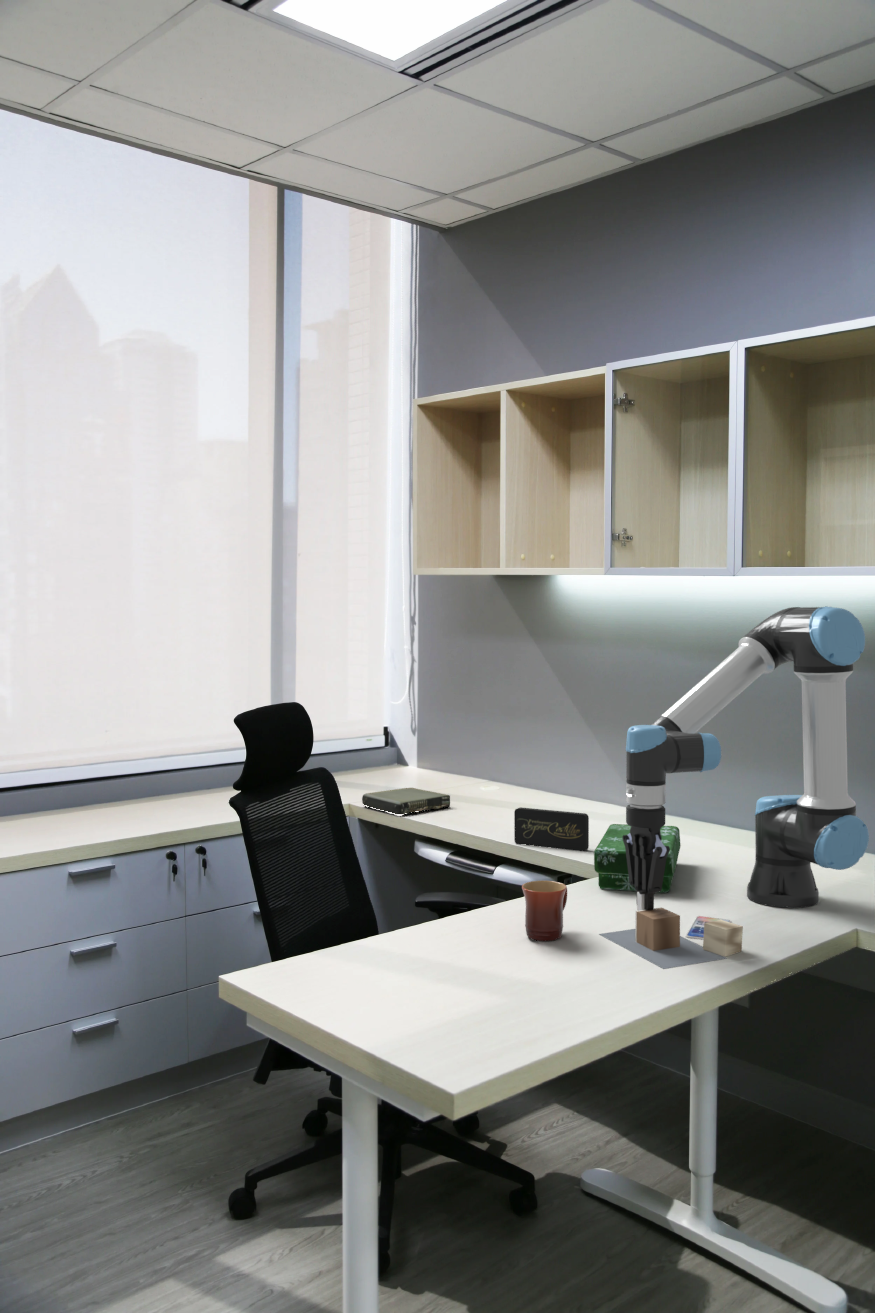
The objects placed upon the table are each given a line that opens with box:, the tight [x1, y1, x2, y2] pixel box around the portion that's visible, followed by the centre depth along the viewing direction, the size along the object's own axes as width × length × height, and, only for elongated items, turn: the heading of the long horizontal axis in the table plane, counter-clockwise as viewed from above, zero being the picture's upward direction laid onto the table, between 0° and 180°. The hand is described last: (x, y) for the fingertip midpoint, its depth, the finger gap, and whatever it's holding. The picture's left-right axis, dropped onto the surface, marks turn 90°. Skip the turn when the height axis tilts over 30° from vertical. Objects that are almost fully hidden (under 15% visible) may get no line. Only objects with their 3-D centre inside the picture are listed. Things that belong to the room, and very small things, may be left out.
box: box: [593, 823, 682, 894], centre depth 254 cm, size 32×18×10 cm, turn 164°
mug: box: [521, 880, 568, 942], centre depth 208 cm, size 12×9×10 cm
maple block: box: [702, 920, 744, 957], centre depth 197 cm, size 5×5×5 cm
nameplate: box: [513, 807, 590, 852], centre depth 285 cm, size 21×2×10 cm, turn 61°
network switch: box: [361, 787, 451, 814], centre depth 343 cm, size 23×24×5 cm
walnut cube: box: [634, 907, 681, 951], centre depth 201 cm, size 6×6×6 cm
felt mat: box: [598, 928, 728, 970], centre depth 200 cm, size 14×22×1 cm, turn 23°
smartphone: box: [684, 915, 732, 941], centre depth 211 cm, size 7×1×15 cm
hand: (645, 925), depth 205 cm, fingers closed
